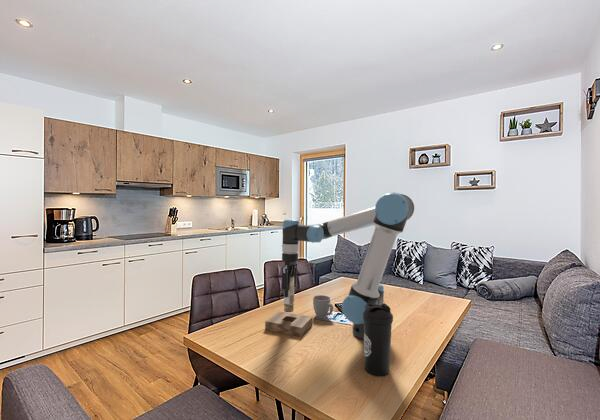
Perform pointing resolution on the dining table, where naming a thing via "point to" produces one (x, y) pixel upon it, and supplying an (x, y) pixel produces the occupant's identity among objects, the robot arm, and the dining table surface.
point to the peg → (290, 306)
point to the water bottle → (377, 339)
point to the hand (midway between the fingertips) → (289, 301)
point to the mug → (322, 306)
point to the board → (289, 323)
